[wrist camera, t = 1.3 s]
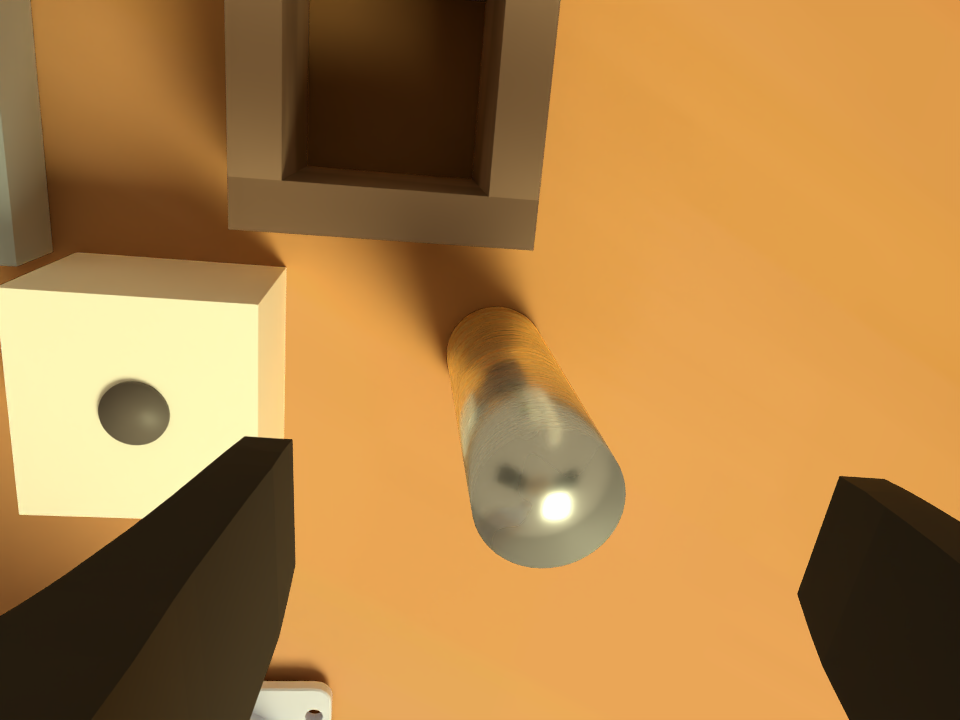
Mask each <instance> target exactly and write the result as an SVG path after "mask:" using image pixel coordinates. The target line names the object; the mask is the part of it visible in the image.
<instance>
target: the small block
mask: <svg viewBox="0 0 960 720" xmlns="http://www.w3.org/2000/svg"><path fill="white" fill-rule="evenodd" d="M285 334H286V267H276V266H262V265H248V264H234V263H220V262H207V261H193V260H179V259H165V258H151V257H137V256H123V255H109V254H95V253H81V252H76V253H73V254H71V255H69V256H67V257H64V258H62V259H60V260H57V261H55V262H53V263H50V264H48V265H46V266H43V267H41V268H39V269H36V270H34V271H32V272H29V273H27V274H25V275H23V276H20V277H18V278H16V279H13V280H11V281H9V282H6V283H4V284H2V285H0V341H1V350H2V360H3V369H4V378H5V388H6V397H7V406H8V416H9V425H10V434H11V444H12V453H13V462H14V472H15V481H16V490H17V500H18V509H19V515H46V516H78V517H110V518H141V519H143V518H144V517H145V516H146V515H148V514H149V513H150V512H151V511H153V510H154V509H155V508H157V507H158V506H159V505H160V504H162V503H163V502H164V501H165V500H167V499H168V498H169V497H170V496H172V495H173V494H174V493H175V492H177V491H178V490H179V489H180V488H181V487H183V486H184V485H185V484H186V483H188V482H189V481H190V480H191V479H192V478H194V477H195V476H196V475H197V474H198V473H200V472H201V471H202V470H203V469H205V468H206V467H207V466H208V465H209V464H211V463H212V462H213V461H214V460H215V459H217V458H218V457H219V456H220V455H221V454H223V453H224V452H225V451H226V450H228V449H229V448H230V447H231V446H233V445H234V444H235V443H236V442H238V441H239V440H240V439H241V438H243V437H244V436H250V437H264V438H279V439H284V405H285Z"/></svg>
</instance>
